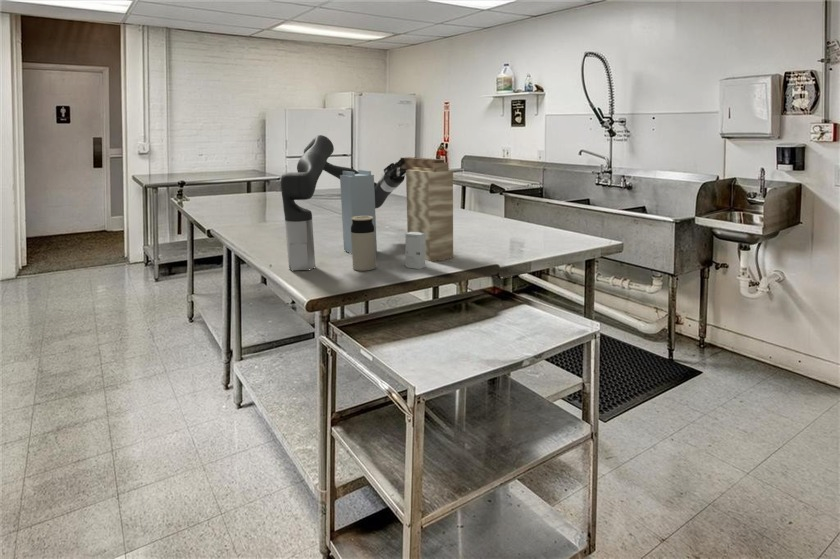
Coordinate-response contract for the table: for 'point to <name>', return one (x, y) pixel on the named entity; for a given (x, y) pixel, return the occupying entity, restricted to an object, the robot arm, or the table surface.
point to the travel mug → (363, 243)
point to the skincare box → (415, 250)
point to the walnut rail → (420, 162)
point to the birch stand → (431, 208)
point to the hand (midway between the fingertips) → (410, 159)
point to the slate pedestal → (356, 201)
